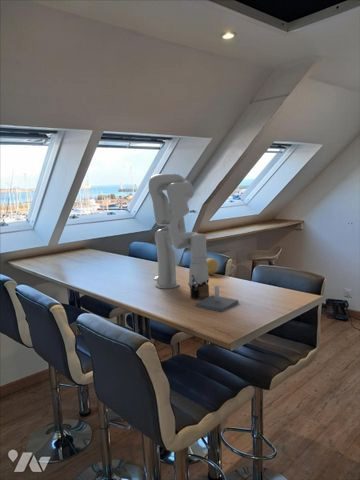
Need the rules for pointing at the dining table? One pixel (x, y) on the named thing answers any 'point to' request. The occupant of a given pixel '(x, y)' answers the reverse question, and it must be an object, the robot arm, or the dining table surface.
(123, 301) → the dining table surface
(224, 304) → the stand
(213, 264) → the stress ball
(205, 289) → the wooden block stack
